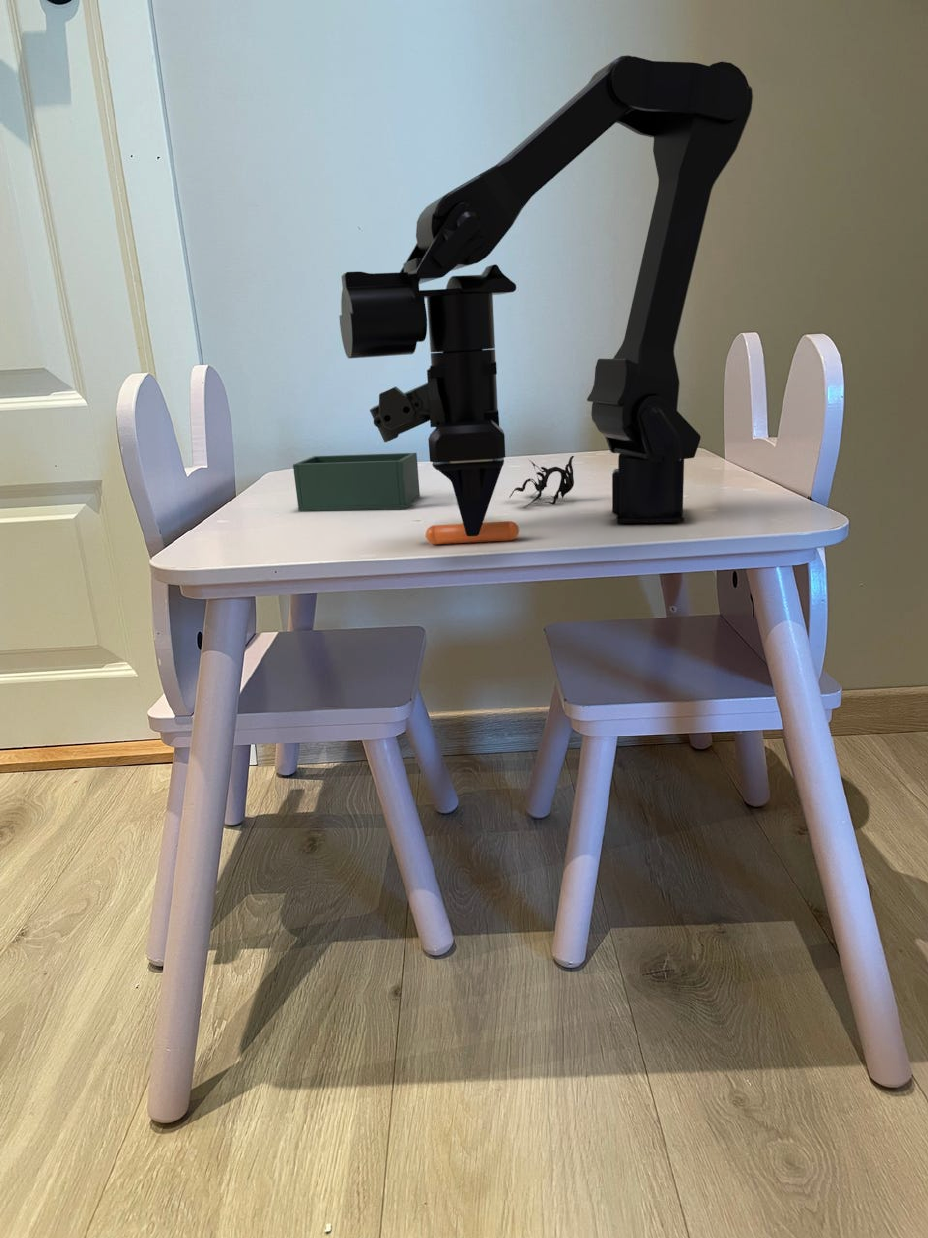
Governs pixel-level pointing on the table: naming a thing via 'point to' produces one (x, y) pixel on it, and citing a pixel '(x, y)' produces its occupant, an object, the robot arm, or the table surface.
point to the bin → (357, 482)
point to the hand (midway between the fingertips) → (472, 524)
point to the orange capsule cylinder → (458, 535)
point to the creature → (542, 483)
